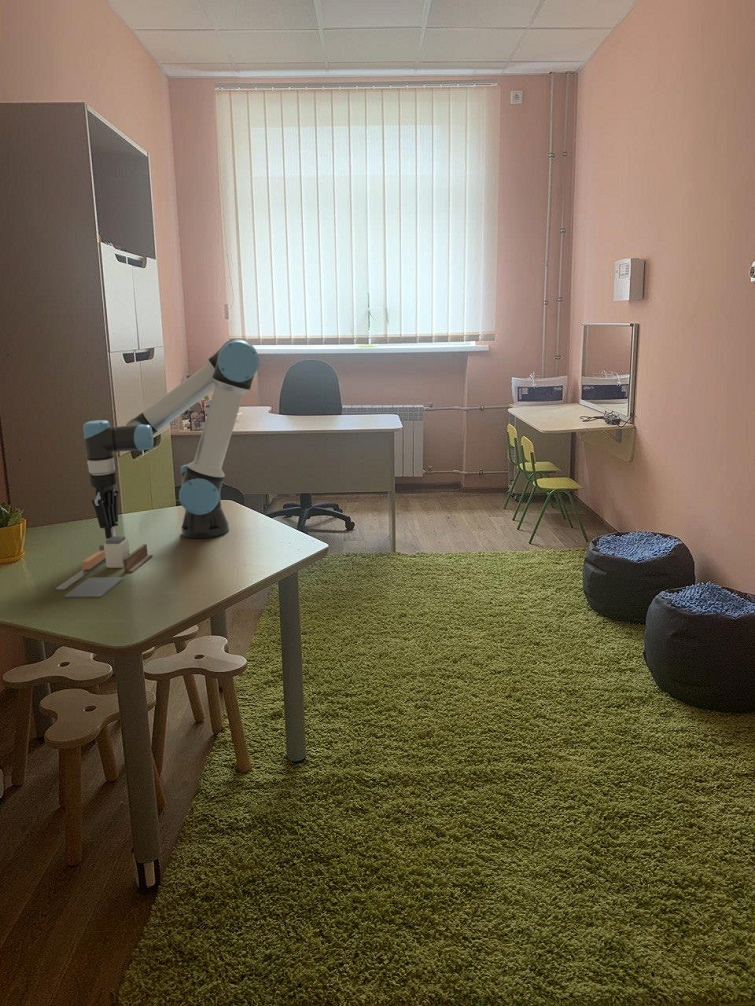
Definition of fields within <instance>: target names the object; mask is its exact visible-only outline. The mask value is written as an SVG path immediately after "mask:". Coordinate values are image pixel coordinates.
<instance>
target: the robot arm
mask: <svg viewBox="0 0 755 1006" xmlns="http://www.w3.org/2000/svg"><path fill="white" fill-rule="evenodd" d="M259 365H260V358H259V354H258V352H257V350H256V348H255V347H254V346H253V345H252V344H251V343H250V342H249V341H247V340H245V339H242V338H233V339H229V340H228V341H226V342H225V343H224V344H222V345H221V347H220V348H219V350H217V351H216V352H215V353H214V354H212V356H210V358H208V359H207V361H206V364H205V365H204V366H202V367H201V368H200V369H198V370H197V371H196V372H194V373H193V374H192V375H190V376H189V377H188V378H187V379H185V380H183V381H182V382H181V383H179V385H177V386H176V387H174V388H173V389H172V390H170V391H169V392H168V393H166V394H165V395H163V396H162V397H161V398H159V399H158V400H157V401H156V402H154V403H153V404H151V405H150V406H149V407H148V408H146V409H144V411H142V412H141V413H139V414H138V415H137V416H135V417H134V418H131V419H130V420H129V421H127V423H126V425H124V426H123V425H122V426H111V424H110V422H109V421H108V420H106V419H105V420H104V419H102V420H101V419H96V420H90V421H87V422H85V423H84V424H83V440H84V448H85V452H86V453H85V454H86V459H87V462H86V464H87V466H88V473H89V476H88V477H89V482H90V483H89V484H90V486H91V488H95V496H96V497H95V499H92V501H91V503H92V506H93V507H94V510H95V515H96V518H97V521H98V526H99V528H100V529H104V535H105V541H106V540H108V539H109V538H111V537H117V532H116V527H117V526H119V523H118V522H119V510H118V509H119V504H118V503H119V501H118V499H119V490H117V489H116V490H115V487H114V486H115V485H117V482H118V481H117V480H118V479H117V473H116V472H115V471H116V465H115V457H114V453H118V452H133V451H140V452H141V451H146V450H152V449H153V447H154V443H155V442H154V440H155V439H154V435H155V434H157V433H158V432H159V431H160V430H162V429H163V428H165V426H167V425H168V424H170V423H171V422H172V421H174V420H175V419H177V418H178V417H179V416H181V415H182V414H183V413H185V412H186V411H188V409H190V408H192V407H193V406H195V405H196V404H197V403H199V402H200V401H201V400H202V399H204V398H205V397H206V396H207V395H209V394H210V393H212V392H213V393H212V397H211V400H210V404H209V407H208V410H207V413H206V414H207V415H206V418H205V421H204V424H203V428H202V431H201V435H200V438H199V442H198V446H197V449H196V453H195V456H194V460H193V461H192V462H189V463H187V464H183V465H181V467H180V476H181V485H180V486H181V487H180V488H179V492H178V499H179V502H180V505H182V507H183V509H184V516H183V520H182V523H181V535H182V536H183V537H185V538H189V539H208V538H209V539H210V538H215V537H218V536H219V537H220V536H222V535H224V534H226V533H228V532H229V530H230V527H229V522H228V520H227V517H226V515H225V513H224V511H223V508H222V504H221V503H222V502H221V490H222V486H223V483H224V479H225V476H226V475H225V472H224V471H223V464H224V461H225V458H226V454H227V451H228V447H229V444H230V441H231V437H232V435H233V431H234V427H235V424H236V421H237V417H238V413H239V410H240V408H241V404H242V400H243V397H244V394H246V393H248V392H250V391H251V388H252V384H253V381H254V378H255V374H256V373H257V371H258V370H259V369H258V368H259Z"/></svg>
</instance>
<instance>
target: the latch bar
mask: <svg viewBox="0 0 755 1006" xmlns="http://www.w3.org/2000/svg"><path fill="white" fill-rule="evenodd" d="M105 558H106V557H105V550H104V544H101V545H99V549H97V550H96V551H95V552H94V553H92V554H91V555H90V556H88V557H86V558H85V559H83V560H82V561H81V566H82V570H90V569H91V568H92V567H94V566H95V565H97V564H98V563H99V562H101V561H102V560H104V559H105Z"/></svg>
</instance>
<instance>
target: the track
mask: <svg viewBox="0 0 755 1006" xmlns="http://www.w3.org/2000/svg"><path fill="white" fill-rule="evenodd" d="M105 562H106V558H105V559H104V560H102V561H101V562H99V563H98V564H97V565H95V566H94V567H92V568H91V569H90V570H83V569H81V570H79V572H77V573H75V574H74V575H72V576H71V577H70V578H68V579H67V580H65V581H64V582H63V583H61V584H60V585H59V586H57V587H55V588H54V591H67V589H69V588H71V587H72V586H73V585H75V584H76V583H77V582H79V581H80V580H81V579H83V578H84V577H86V576H87V575H89V574H90V573H91V572H93V571H94V570H95V569H97V568H98V567H99V566H101V565H103V564H104V563H105Z"/></svg>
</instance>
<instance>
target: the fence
mask: <svg viewBox="0 0 755 1006" xmlns="http://www.w3.org/2000/svg"><path fill="white" fill-rule="evenodd" d="M152 558H153V554H149V553H148V545H147V544H146V543H143V544H141V545H140V546H139V547H137V548H136V549H135V550H133V551H132V552H131V553H130V554H129V555H128V556H127V557H125V558H124V559H123V562H124V567H123V568H124V573H127V574H128V573H129V574H131V573H132V574H133V573H134V572H136V571H137V570H138V569H140V568H141V567H142V566H143V565H145V564H146V563H147V562H148V561H149V560H151V559H152Z"/></svg>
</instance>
